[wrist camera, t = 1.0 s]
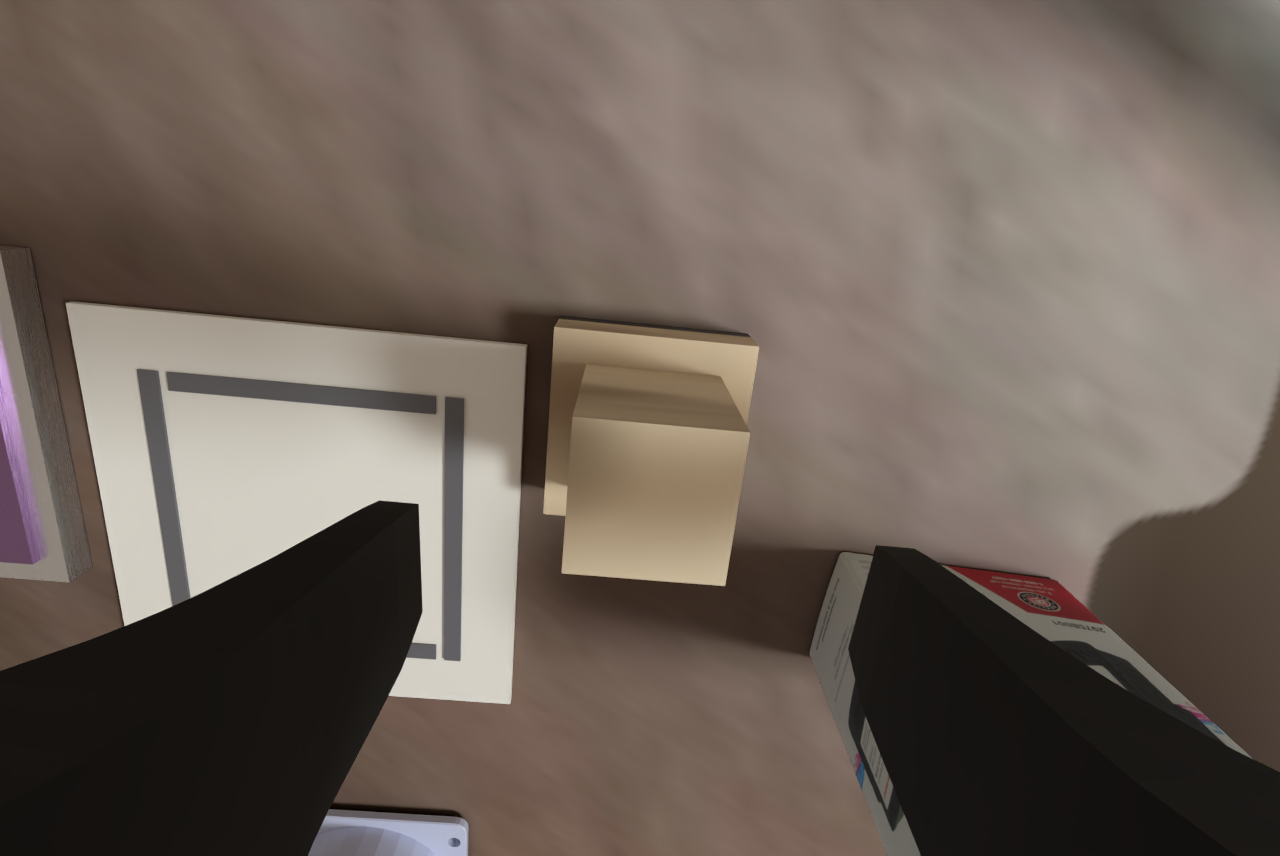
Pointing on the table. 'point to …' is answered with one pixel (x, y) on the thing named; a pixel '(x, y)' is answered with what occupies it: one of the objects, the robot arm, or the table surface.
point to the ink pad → (33, 441)
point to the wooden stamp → (647, 447)
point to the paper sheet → (310, 464)
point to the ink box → (1021, 597)
